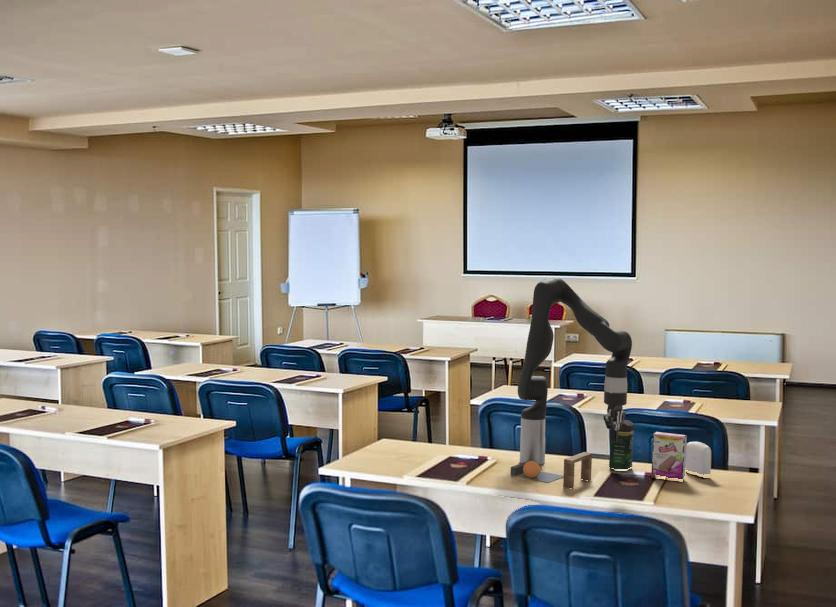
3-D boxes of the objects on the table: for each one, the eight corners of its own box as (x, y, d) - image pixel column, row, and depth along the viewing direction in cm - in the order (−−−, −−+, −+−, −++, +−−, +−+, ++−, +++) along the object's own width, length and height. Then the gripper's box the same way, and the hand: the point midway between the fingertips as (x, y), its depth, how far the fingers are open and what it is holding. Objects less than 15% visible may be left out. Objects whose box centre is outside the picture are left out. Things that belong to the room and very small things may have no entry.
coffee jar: (627, 473, 315) (629, 423, 314) (606, 470, 319) (608, 421, 318) (634, 468, 324) (636, 419, 323) (613, 465, 328) (615, 417, 327)
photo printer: (682, 472, 319) (684, 439, 318) (691, 471, 321) (693, 439, 320) (703, 479, 309) (704, 445, 309) (712, 478, 311) (713, 444, 311)
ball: (531, 456, 309) (545, 466, 307) (522, 468, 310) (536, 479, 308) (527, 459, 303) (540, 470, 301) (517, 472, 305) (531, 483, 303)
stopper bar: (527, 469, 319) (527, 461, 318) (532, 470, 317) (532, 462, 317) (510, 475, 309) (510, 466, 309) (515, 476, 308) (515, 467, 308)
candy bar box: (650, 479, 308) (652, 433, 308) (653, 476, 313) (654, 431, 312) (683, 483, 304) (685, 437, 303) (685, 480, 308) (686, 434, 307)
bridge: (563, 487, 294) (564, 459, 294) (583, 478, 306) (584, 451, 306) (570, 488, 293) (571, 460, 292) (591, 480, 304) (592, 453, 304)
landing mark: (535, 470, 316) (535, 470, 316) (564, 476, 309) (565, 475, 309) (518, 476, 307) (518, 476, 307) (548, 482, 300) (548, 482, 300)
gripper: (613, 386, 297) (612, 436, 298) (596, 391, 287) (594, 442, 288) (634, 389, 293) (632, 439, 294) (617, 393, 282) (615, 445, 283)
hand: (613, 441), depth 291 cm, fingers closed
